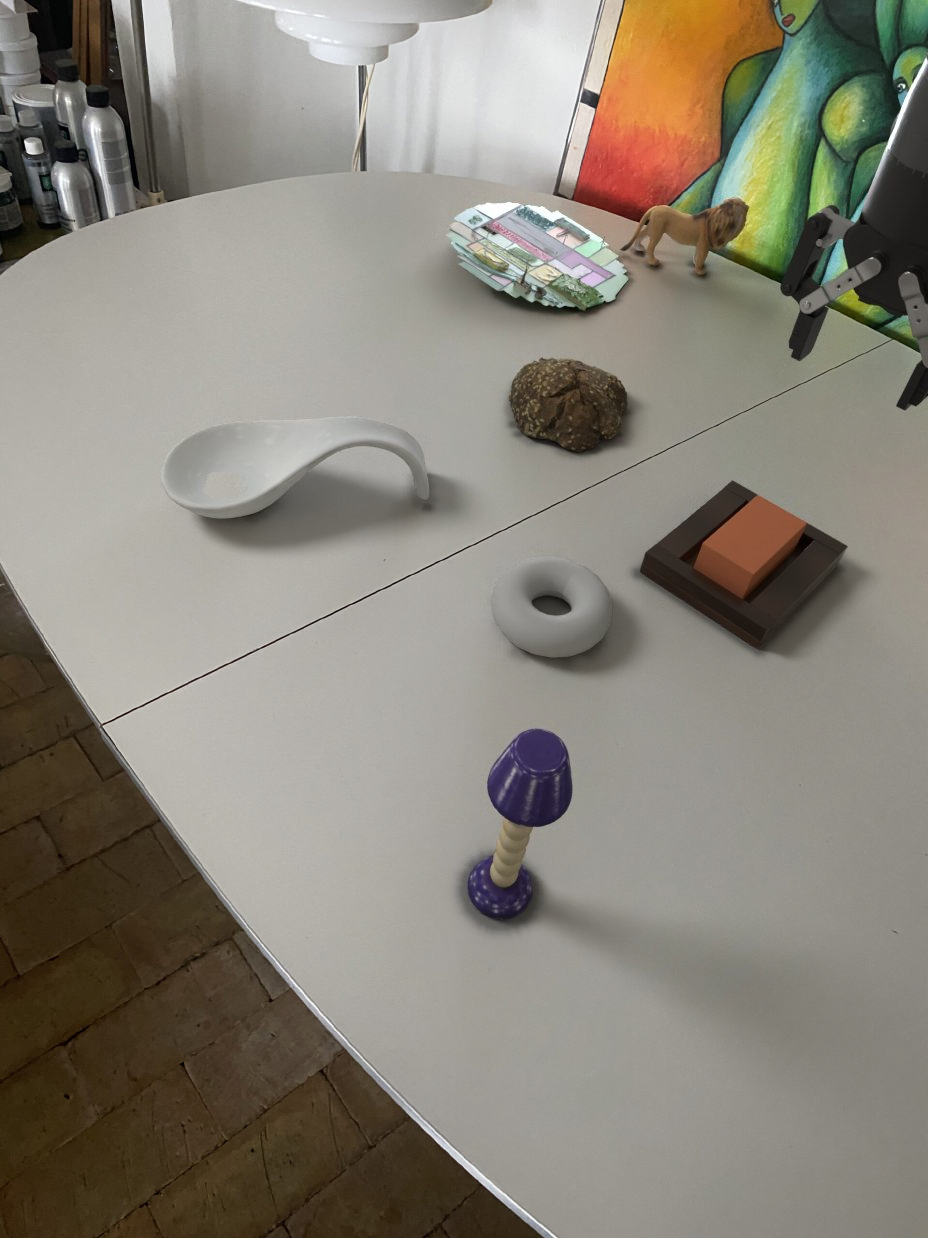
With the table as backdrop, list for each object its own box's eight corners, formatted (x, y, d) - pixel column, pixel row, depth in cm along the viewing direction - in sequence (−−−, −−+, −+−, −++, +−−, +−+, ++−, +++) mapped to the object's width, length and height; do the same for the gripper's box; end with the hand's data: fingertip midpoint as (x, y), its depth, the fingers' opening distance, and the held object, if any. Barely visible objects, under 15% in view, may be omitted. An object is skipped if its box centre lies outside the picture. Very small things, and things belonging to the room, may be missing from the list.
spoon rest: (163, 544, 75) (145, 480, 70) (172, 457, 83) (156, 393, 77) (435, 527, 79) (438, 465, 73) (420, 445, 86) (421, 383, 81)
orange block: (745, 523, 80) (758, 494, 78) (793, 551, 78) (807, 522, 75) (691, 571, 76) (702, 542, 73) (741, 602, 74) (754, 574, 71)
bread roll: (517, 370, 96) (522, 329, 92) (629, 389, 95) (639, 348, 91) (496, 440, 87) (501, 398, 84) (619, 462, 86) (629, 421, 83)
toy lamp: (505, 840, 59) (536, 697, 46) (555, 890, 57) (602, 754, 44) (453, 885, 57) (471, 748, 44) (503, 939, 55) (537, 810, 42)
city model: (603, 352, 103) (619, 305, 98) (416, 290, 104) (423, 241, 99) (634, 259, 119) (650, 215, 114) (472, 206, 120) (481, 161, 115)
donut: (472, 644, 70) (592, 681, 68) (474, 616, 68) (598, 654, 66) (511, 563, 77) (621, 595, 75) (514, 534, 74) (629, 566, 72)
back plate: (724, 499, 84) (732, 479, 82) (837, 565, 79) (848, 545, 77) (639, 571, 77) (645, 551, 75) (756, 649, 72) (766, 629, 70)
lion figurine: (730, 261, 115) (751, 191, 108) (731, 280, 112) (753, 210, 105) (620, 245, 116) (634, 175, 110) (617, 263, 113) (632, 193, 106)
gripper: (1095, 170, 51) (963, 400, 64) (873, 99, 57) (791, 322, 70) (1050, 209, 48) (919, 445, 60) (817, 129, 54) (742, 359, 66)
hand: (851, 379), depth 65 cm, fingers open, 8 cm apart
